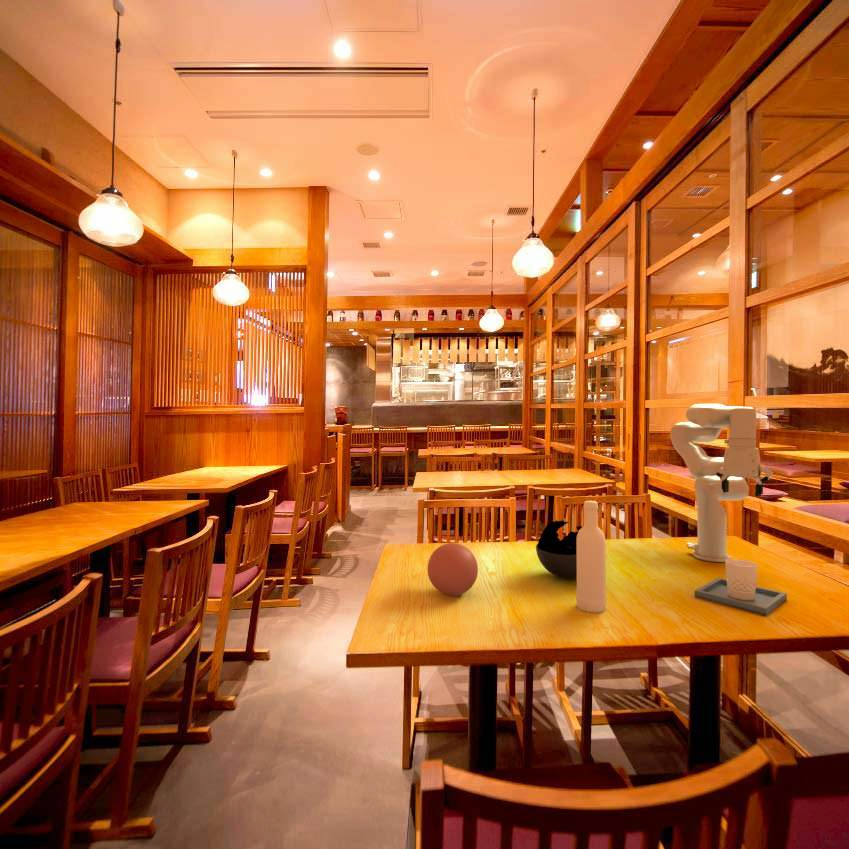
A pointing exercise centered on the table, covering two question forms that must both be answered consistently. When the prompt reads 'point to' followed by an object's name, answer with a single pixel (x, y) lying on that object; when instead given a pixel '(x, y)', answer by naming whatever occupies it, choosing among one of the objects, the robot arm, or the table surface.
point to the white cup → (741, 578)
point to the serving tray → (760, 605)
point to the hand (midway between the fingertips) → (741, 494)
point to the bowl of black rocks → (558, 551)
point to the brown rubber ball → (452, 569)
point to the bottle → (591, 562)
